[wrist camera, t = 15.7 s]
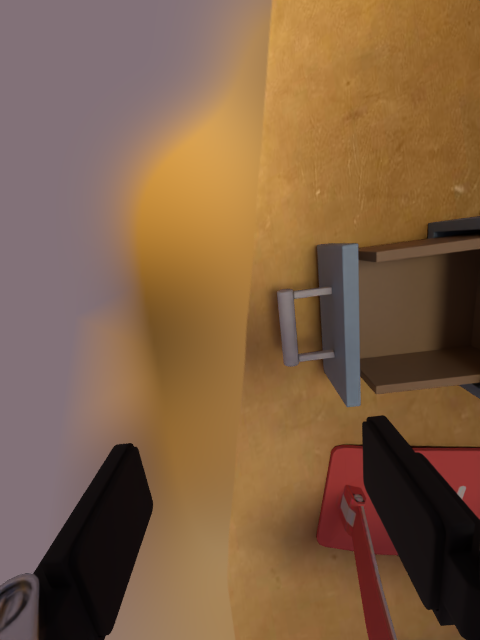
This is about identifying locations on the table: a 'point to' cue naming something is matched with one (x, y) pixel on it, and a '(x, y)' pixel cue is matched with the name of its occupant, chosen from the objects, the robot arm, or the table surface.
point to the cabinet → (449, 230)
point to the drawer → (393, 315)
